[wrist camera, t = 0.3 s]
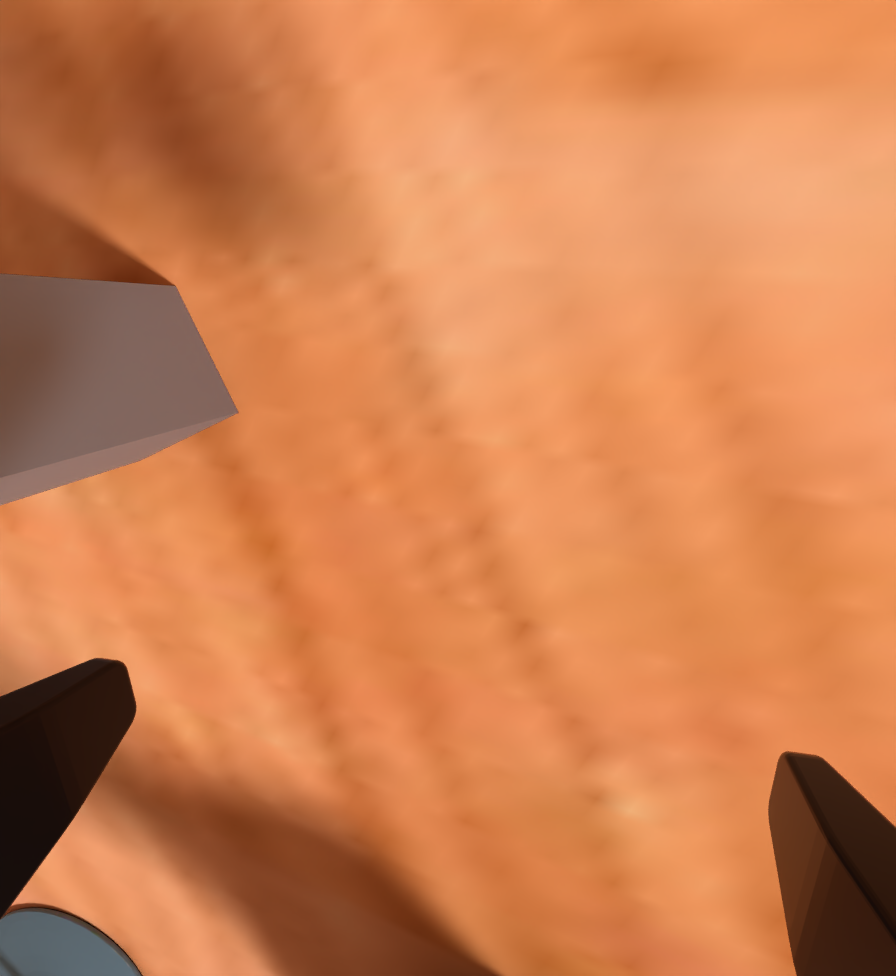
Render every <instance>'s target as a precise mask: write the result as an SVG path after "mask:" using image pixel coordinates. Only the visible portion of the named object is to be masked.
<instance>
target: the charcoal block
mask: <svg viewBox="0 0 896 976" xmlns="http://www.w3.org/2000/svg"><path fill="white" fill-rule="evenodd" d="M237 413H238V411H237V409H236V407H235V405H234V403H233V401H232V399H231V397H230V395H229V393H228V391H227V389H226V387H225V385H224V383H223V381H222V378H221V376H220V374H219V372H218V370H217V368H216V366H215V364H214V362H213V360H212V358H211V356H210V354H209V352H208V350H207V348H206V346H205V344H204V342H203V340H202V338H201V336H200V334H199V332H198V330H197V328H196V326H195V324H194V322H193V320H192V318H191V316H190V314H189V312H188V310H187V308H186V306H185V304H184V302H183V300H182V298H181V296H180V294H179V292H178V290H177V288H176V286H168V285H154V284H140V283H126V282H112V281H98V280H84V279H70V278H55V277H41V276H27V275H13V274H0V505H3V504H6V503H9V502H12V501H16V500H19V499H22V498H25V497H28V496H31V495H34V494H37V493H41V492H44V491H47V490H50V489H53V488H56V487H59V486H62V485H66V484H69V483H72V482H75V481H78V480H81V479H84V478H87V477H91V476H94V475H97V474H100V473H103V472H106V471H109V470H112V469H116V468H119V467H122V466H125V465H128V464H131V463H134V462H137V461H140V460H142V459H144V458H146V457H149V456H151V455H153V454H155V453H157V452H159V451H161V450H163V449H165V448H167V447H169V446H171V445H173V444H175V443H177V442H179V441H181V440H183V439H185V438H187V437H190V436H192V435H194V434H196V433H198V432H200V431H202V430H204V429H206V428H208V427H210V426H212V425H214V424H216V423H218V422H220V421H222V420H224V419H226V418H228V417H231V416H233V415H235V414H237Z"/></svg>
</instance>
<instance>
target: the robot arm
mask: <svg viewBox="0 0 896 976" xmlns="http://www.w3.org/2000/svg"><path fill="white" fill-rule="evenodd" d="M135 714H136V701H135V697H134V693H133V689H132V685H131V681H130V677H129V673H128V670H127V667H126V666H125V664H124V663H123V662H121V661H118V660H112V659H104V658H95V659H91V660H89V661H86V662H84V663H81V664H79V665H77V666H74V667H72V668H69V669H67V670H64V671H62V672H59V673H57V674H55V675H52V676H50V677H47V678H45V679H42V680H40V681H37V682H35V683H33V684H30V685H28V686H25V687H23V688H20V689H18V690H15V691H13V692H11V693H8V694H6V695H3V696H1V697H0V920H1V919H2V917H3V916H4V914H5V913H6V912H7V910H8V909H9V908H10V906H11V905H12V903H13V902H14V901H15V899H16V898H17V897H18V895H19V894H20V892H21V891H22V890H23V888H24V887H25V886H26V884H27V883H28V881H29V880H30V879H31V877H32V876H33V875H34V873H35V872H36V870H37V869H38V868H39V866H40V865H41V864H42V862H43V861H44V859H45V858H46V857H47V855H48V854H49V853H50V851H51V850H52V848H53V847H54V846H55V844H56V843H57V842H58V840H59V839H60V837H61V836H62V835H63V833H64V832H65V830H66V829H67V827H68V826H69V825H70V823H71V822H72V820H73V819H74V817H75V816H76V814H77V813H78V811H79V809H80V808H81V806H82V805H83V803H84V801H85V800H86V798H87V797H88V795H89V793H90V792H91V790H92V788H93V787H94V785H95V783H96V782H97V780H98V778H99V777H100V775H101V773H102V772H103V770H104V768H105V767H106V765H107V764H108V762H109V760H110V759H111V757H112V755H113V754H114V752H115V750H116V749H117V747H118V745H119V744H120V742H121V740H122V739H123V737H124V735H125V734H126V732H127V731H128V729H129V727H130V726H131V724H132V722H133V720H134V717H135ZM768 815H769V825H770V831H771V837H772V842H773V848H774V854H775V860H776V866H777V872H778V878H779V883H780V889H781V895H782V901H783V907H784V913H785V919H786V924H787V930H788V936H789V942H790V947H791V952H792V957H793V963H794V966H795V970H796V974H797V976H896V827H895V826H894V825H893V824H892V823H891V822H890V821H889V820H888V819H887V818H886V817H885V816H884V815H883V814H881V813H880V812H879V811H878V810H877V809H876V808H875V807H874V806H873V805H872V804H871V803H870V802H869V801H868V800H867V799H866V798H865V797H864V796H863V795H861V794H860V793H859V792H858V791H857V790H856V789H855V788H854V787H853V786H852V785H851V784H850V783H849V782H848V781H847V780H846V779H845V778H844V777H843V776H841V775H840V774H839V773H838V772H837V771H836V770H835V769H834V768H833V767H832V766H831V765H830V764H829V763H828V762H827V761H825V760H824V759H823V758H821V757H820V756H816V755H811V754H804V753H797V752H789V751H788V752H784V753H782V754H781V756H780V758H779V760H778V763H777V768H776V772H775V777H774V781H773V786H772V790H771V795H770V799H769V808H768Z"/></svg>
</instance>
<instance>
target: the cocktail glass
mask: <svg viewBox="0 0 896 976" xmlns="http://www.w3.org/2000/svg"><path fill="white" fill-rule="evenodd" d="M0 976H142V975H141V974H140V972H139V971H138V969H137V968H136V966H135V965H134V963H133V962H132V961H131V960H130V959H129V957H128V956H127V955H126V954H125V953H124V952H123V951H122V950H121V949H120V948H119V947H118V946H117V945H116V944H115V943H114V942H113V941H112V940H110V939H109V938H108V937H107V936H105V935H104V934H103V933H102V932H100V931H99V930H97V929H95V928H94V927H92V926H91V925H89V924H88V923H86V922H84V921H82V920H80V919H78V918H75V917H73V916H71V915H68V914H65V913H62V912H59V911H55V910H50V909H46V908H26V909H19V910H16V911H13V912H10V913H8V914H7V915H5V916H3V917H2V919H1V920H0Z"/></svg>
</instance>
